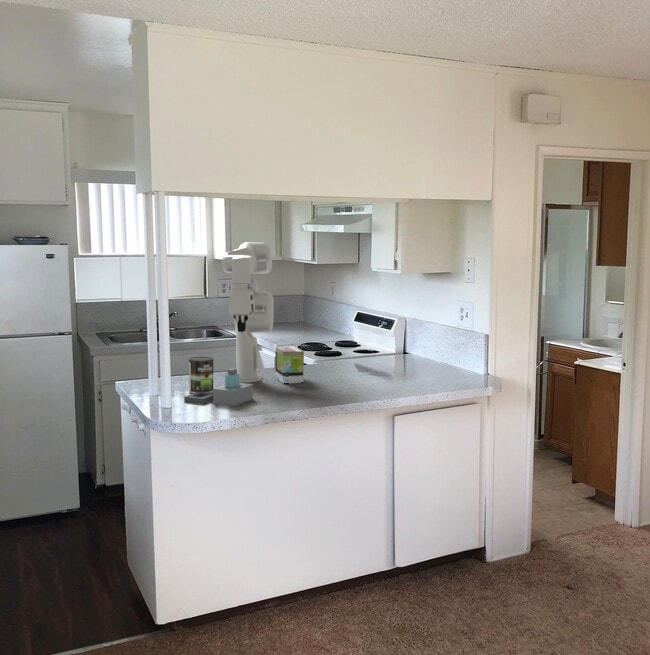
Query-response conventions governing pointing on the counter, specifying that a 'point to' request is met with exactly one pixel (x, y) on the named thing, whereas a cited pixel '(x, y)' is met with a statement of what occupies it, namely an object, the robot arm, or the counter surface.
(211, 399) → the holster
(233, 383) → the plug
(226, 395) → the port
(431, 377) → the counter surface
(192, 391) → the coffee can
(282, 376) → the tea box
